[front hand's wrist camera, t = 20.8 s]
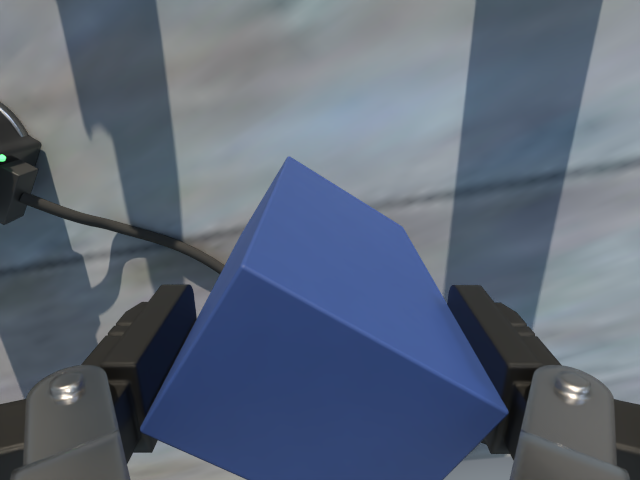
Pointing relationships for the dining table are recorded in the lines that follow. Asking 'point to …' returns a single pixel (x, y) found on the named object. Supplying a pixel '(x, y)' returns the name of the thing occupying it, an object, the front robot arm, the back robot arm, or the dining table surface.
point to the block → (325, 352)
